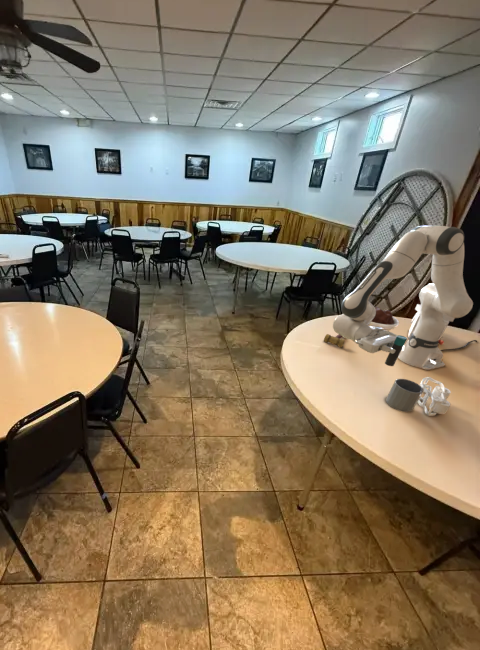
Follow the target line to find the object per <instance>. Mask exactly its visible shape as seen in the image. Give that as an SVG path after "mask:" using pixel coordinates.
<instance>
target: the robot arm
mask: <svg viewBox="0 0 480 650" xmlns="http://www.w3.org/2000/svg"><path fill="white" fill-rule="evenodd" d="M422 254H424V255H432V257H431V258H432V259H431V269H430V270H431V272H430V275H431V276H430V280H431V281H432V283H428V284H427V285H425V286H423V287H422V288H421V289H420V291H419V293H418V297H419V301H420V305H421V313H420V318H419V321H418V324H417V326H416V328H415V330H414V332H413V333H412V334H411V335H410V338H408V339H407V340H406V342H405V344H404V346H403V348H402V350H401V352H400V354H399V356H398V358H397V359H399V360H400V361H401V362H403V363H405V364H407V365H409V366H411V367H415V368H419V369H422V370H425V371H429V370H434V369H439V368H444V367H445V366H446V363H445V362H444V361H442V360H443V357H444V353H443V352H445V351H455V350H461V349H463V348H465V347H467V346H468V345H469V344H471V343H473V342H475V343H478V340H477V339H472V340H470V341H468V342H467V343H466V344H465V345H463V346H460V347H456V348H448V349H447V348H446V349H444V348H443V349H440V348H439V345H440V346H442V345H444V343H445V342H444V340H442V339H441V338H440V336H441V334H442V332H443V330H444V328H445V322H444V318H443V314H444V315H446V316H449V317H454V318H455V319H459V318H463V317H465V316H466V315H468V314H469V313H470V312H471V311H472V310H473V305H474V302H473V300H472V298H471V297H470V296H469V293H468V291H467V289H466V286H465V282H464V275H463V274H464V273H463V272H464V261H465V233H464V231H463V229H461V228H458V227H455V226H446V225H418V226H415V227H413V228H411V230H409V231H407V232H406V233H405V234H404V235H402V236H401V237H400V238H399V240H398V241H397V242H395V244H394V246H392V248H391V249H390V251H389V252H388V253H387V254H386V256H385V257H384V258H383V259H382V260H381V261H380V262H379V263H377V265H375V267H373V268H372V269H371V270H370V272H369V273H368V274H367V275H366V276H365V278H364V279H363V280H362V281H361V282H360V284H359V285H357V287H356V288H355V289H354V290H353V291H351V292H350V293H349V294H347V295H346V296H345V298H344V299H343V300H342V302H341V304H340V310H341V313H342V314H339V315H337V316H336V317H335V318H334V320H333V322H332V329H333V331H334V332H335V333H336V334H337V335H341V336H343V337H342V338H344V339H346V340H351V341H352V342H353V343H355V344H356V345H358V347H359V348H360V349H362V350H363V351H365V352H367V353H369V354H375V353H378V352H381V351H382V352H385V353H392V354H393V353H396V349H394V348H392V346H393V344H394V341H395V339H396V337H397V336H398V335H397V334H395V333H393V332H391V331H386V330H384V328H382V327H372V326H368V324H369V323H370V322H371V321H372V320H373V319H374V317H375V315H376V309H375V307H376V306H375V305H373V304H372V303H371V302H370V301H369V299H370V297H371V296H372V294H373V293H374V292H376V290H377V289H378V288H379V287H380V285H381V284H382V283H383V282H385V281H386V280H389V279H390V280H395V279H397V280H398V279H401V278H403V277H405V276H406V275H407V274H408V273H409V272H410V271H411V270H412V269H413V267H414V265H415V264H416V263H417V262H418V260H419V259H420V257H421V255H422ZM441 337H442V336H441ZM439 338H440V340H438V339H439Z"/></svg>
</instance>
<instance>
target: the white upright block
mask: <svg viewBox="0 0 480 650" xmlns="http://www.w3.org/2000/svg"><path fill="white" fill-rule="evenodd" d="M414 310H415V311H417V312H416V313H415V314H414V316H413V317H412V319H411V321H410V324H411V326H410V327H409V330H408V336H407V339H409V338H410V335H411V334H412V333H413V332H414V330H415V328H416V326H417V324H418V321H419V318H420V313H421V303H420V304H419V303H417V304H416V306H415V308H414ZM443 318H444V322H445V328H444V330H443V332H442V334H441V336H440V338H439V339H438V340H441V338H442V336H443V335H444V333H445V331H446V329H447V327H448V326H449V323H450V322H451V323H453V322H454V320H455V319H456V318H454V317H449V316H446V315H444V314H443Z"/></svg>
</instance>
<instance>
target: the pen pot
mask: <svg viewBox="0 0 480 650" xmlns="http://www.w3.org/2000/svg"><path fill="white" fill-rule="evenodd" d="M423 393H424V392H423V388H422V387H421V386H420V384H419V383H417V382H415V381H413V380H409V379H405V378H397V379H395V380H394V382H393V384H392V386H391V388H390V390H389V392H388V393H387V395H386V398H385V402H386V403H387V405H388V406H390V408H393V409H394V410H397V411H400V412H404V413H409V412H412V411H413V410H414V408H415V407H416V405H417V404H418V400H420V399H419V398H420V397H422V395H423Z"/></svg>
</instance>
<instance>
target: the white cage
mask: <svg viewBox="0 0 480 650" xmlns="http://www.w3.org/2000/svg"><path fill="white" fill-rule="evenodd" d="M428 382H432V383H435V384H436V385H435V387H432V385H429V384H428ZM419 385H420V386H421V387H422V388H423V393H424V396H420V398H419V400H418V402H417V404H418V405H419V406H420V407H421V409H423V410H424V414H425V415H426V416H428V417H435V416H436V415H437V414H440V415H445V414H446V413H447V412H448V410H449V409H450V407H451V405H452V404H451V402H450V401H448V400H447V399H448V398H449V396H450V395H451V390H450V389H449V388H447V387H446V386H445V385H444V383H443V382H442V381H439V380H436V379H434V378H432V377H431V376H425V377H423V378H422V379H421V382H420V383H419ZM430 398H431V403H430V404H429V407H427V406H426V405H425V404H426V403H427V401H428V400H429V399H430ZM428 408H429V410H428Z"/></svg>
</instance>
